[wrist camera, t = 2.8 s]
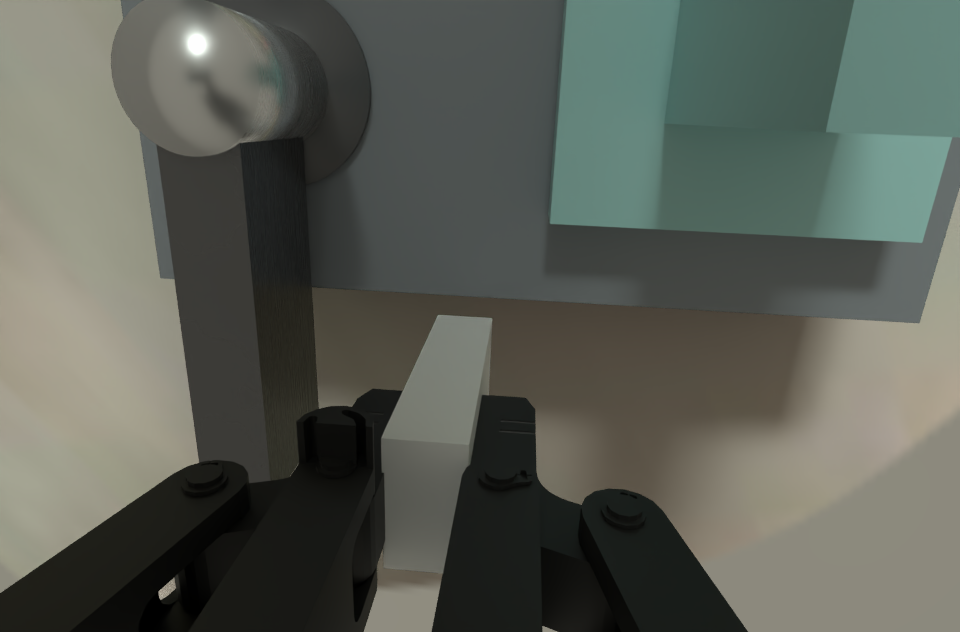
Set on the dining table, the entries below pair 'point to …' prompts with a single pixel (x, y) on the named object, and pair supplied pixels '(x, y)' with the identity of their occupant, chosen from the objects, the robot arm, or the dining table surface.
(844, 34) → the cover
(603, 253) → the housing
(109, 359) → the dining table surface
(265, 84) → the grey lever handle
